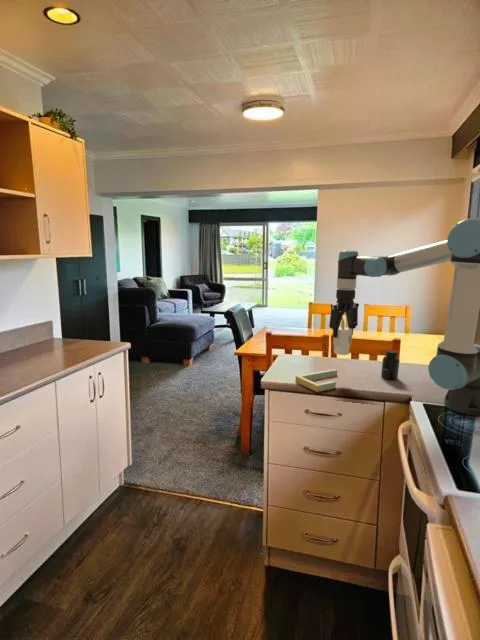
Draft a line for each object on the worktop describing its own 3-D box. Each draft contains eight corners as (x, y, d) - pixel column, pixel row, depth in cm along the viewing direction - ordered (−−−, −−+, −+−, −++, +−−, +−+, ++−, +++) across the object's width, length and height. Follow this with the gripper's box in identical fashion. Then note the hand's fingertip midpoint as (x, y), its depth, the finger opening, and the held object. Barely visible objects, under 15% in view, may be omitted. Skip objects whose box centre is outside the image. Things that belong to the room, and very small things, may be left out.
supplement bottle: (379, 379, 175) (382, 352, 172) (382, 374, 180) (384, 348, 178) (396, 381, 171) (399, 354, 169) (398, 377, 177) (401, 350, 175)
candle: (346, 355, 166) (348, 319, 163) (331, 353, 170) (333, 317, 167) (352, 352, 171) (354, 317, 168) (337, 350, 175) (339, 315, 172)
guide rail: (357, 383, 168) (357, 377, 168) (316, 391, 157) (317, 385, 157) (334, 374, 180) (334, 369, 179) (295, 381, 169) (295, 375, 169)
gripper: (356, 287, 173) (352, 339, 178) (321, 288, 164) (318, 344, 168) (369, 289, 167) (365, 343, 171) (334, 290, 158) (331, 348, 162)
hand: (342, 343), depth 170 cm, fingers closed on candle, 6 cm apart
